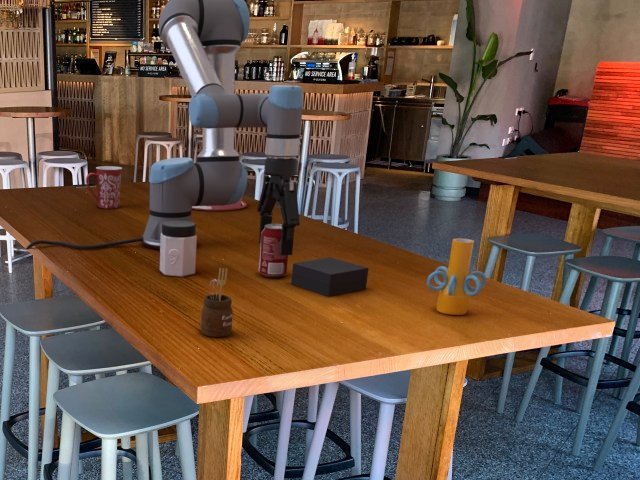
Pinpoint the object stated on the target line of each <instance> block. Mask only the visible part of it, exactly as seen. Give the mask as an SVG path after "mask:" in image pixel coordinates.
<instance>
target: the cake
mask: <svg viewBox="0 0 640 480" xmlns="http://www.w3.org/2000/svg"><path fill="white" fill-rule="evenodd" d="M247 206H248V203H246V202H245V201H243V197H242V198H241V199H240V200H239V201H238V202H237V203H235V204H230V205H225V206H220V205H216V206H193V207H192V210H196V211H208V212H209V211H210V212H223V211H224V212H226V211H227V212H228V211H235V210H242V209H244V208H246V207H247Z"/></svg>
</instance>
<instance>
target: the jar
mask: <svg viewBox="0 0 640 480" xmlns="http://www.w3.org/2000/svg"><path fill="white" fill-rule="evenodd" d="M196 226H197V224H196V223H195V222H194V221H192V222H190V221H180V220H175V221H166V222H163V223H162V233H161V241H160V250H159V252H160V253H159V272H161V273H162V274H163V275H164V276H169V277H187V276H191V275H195V274H196V268H197V267H196V265H197V264H196V263H197V246H196V243H197V244H198V236H197V233H196V232H197V231H196ZM195 234H196V235H195Z"/></svg>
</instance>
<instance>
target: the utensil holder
mask: <svg viewBox="0 0 640 480" xmlns="http://www.w3.org/2000/svg"><path fill="white" fill-rule="evenodd" d="M217 277H218V279H217V278H214V279H211V280H210V281H209V283H208V285H211V284H213V283H215V282H216V285H218V286H220V288H219V293H218V291H216V293H215V294H214V291H215V290H214V288H215V285H212V291H208V293H209V294H208V295H205V296H204V298H203V304H204V305H202V307H201V314H200V332H201V334H202V335H204V336H206V337H210V338H224V337H228V336H230V335H231V333H232V330H233V315H234V313H233V311H234V310H233V308H232V306H231V305H232V298H231V296H229V295H227V294H222V293H223V287H224V286H225V285H227V278H228V268H224V267H219V270H218V276H217ZM211 292H212V293H211Z"/></svg>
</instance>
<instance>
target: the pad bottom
mask: <svg viewBox="0 0 640 480" xmlns="http://www.w3.org/2000/svg"><path fill="white" fill-rule="evenodd" d="M367 284H368V278H367V279H361V280H356V281H351V282H345V283H340V284H335V285H327V284H323V283H320V282H317V281H314V280H311V279H307V278H304V277H301V276H298V275H295V274H292V273H291V282H290V285H293V286H296V287H297V288H298V287H299V288H301V289H304V290H308V291H311V292H314V293H317V294H320V295H323V296H326V297H333V296H338V295H343V294H347V293H352V292H359V291H364V290H367Z"/></svg>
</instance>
